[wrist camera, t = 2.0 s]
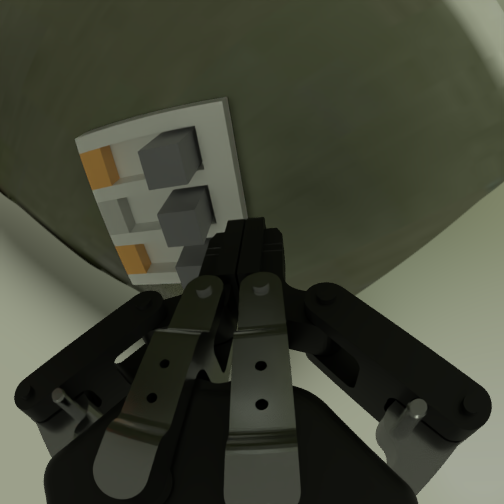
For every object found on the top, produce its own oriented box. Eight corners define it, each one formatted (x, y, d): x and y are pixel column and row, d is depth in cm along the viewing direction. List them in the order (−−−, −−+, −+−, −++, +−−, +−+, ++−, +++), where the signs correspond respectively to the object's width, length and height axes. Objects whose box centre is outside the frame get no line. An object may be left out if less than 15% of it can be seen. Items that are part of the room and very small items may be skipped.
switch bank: (140, 270, 40) (132, 284, 37) (89, 130, 28) (74, 138, 26) (255, 263, 37) (254, 279, 35) (227, 96, 26) (222, 100, 23)
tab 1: (170, 165, 29) (149, 190, 24) (161, 132, 27) (137, 151, 22) (203, 159, 29) (188, 184, 24) (196, 125, 27) (177, 143, 22)
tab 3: (196, 258, 36) (185, 293, 31) (189, 233, 34) (175, 267, 29) (225, 256, 36) (217, 292, 31) (219, 230, 34) (209, 264, 29)
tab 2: (183, 215, 33) (168, 247, 28) (175, 186, 31) (156, 214, 26) (215, 212, 32) (203, 244, 27) (208, 181, 30) (194, 209, 25)
